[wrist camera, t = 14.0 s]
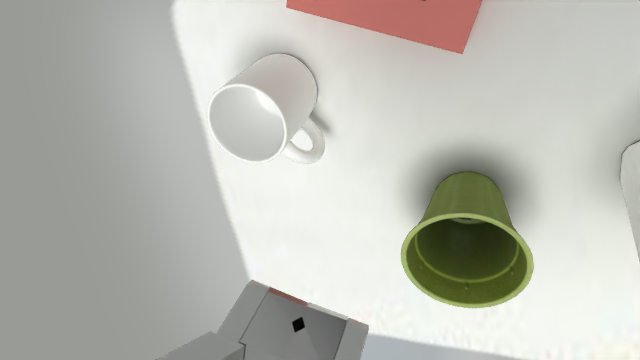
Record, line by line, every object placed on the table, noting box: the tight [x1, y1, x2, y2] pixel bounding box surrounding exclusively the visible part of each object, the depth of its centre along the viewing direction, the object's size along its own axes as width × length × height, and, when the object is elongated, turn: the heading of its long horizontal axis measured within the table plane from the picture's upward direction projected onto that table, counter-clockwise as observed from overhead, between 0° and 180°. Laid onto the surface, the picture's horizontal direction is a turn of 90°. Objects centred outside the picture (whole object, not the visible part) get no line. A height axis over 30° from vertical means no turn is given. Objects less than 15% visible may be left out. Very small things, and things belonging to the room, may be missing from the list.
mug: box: [207, 54, 325, 164], centre depth 46 cm, size 12×8×10 cm
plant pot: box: [401, 172, 534, 308], centre depth 46 cm, size 12×12×11 cm
